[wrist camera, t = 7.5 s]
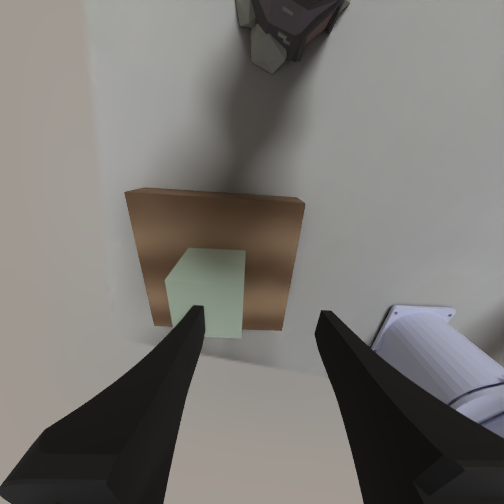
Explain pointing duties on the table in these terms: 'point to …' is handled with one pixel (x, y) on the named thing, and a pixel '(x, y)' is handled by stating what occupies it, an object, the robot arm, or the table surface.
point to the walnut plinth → (219, 244)
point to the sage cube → (209, 289)
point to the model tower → (285, 27)
